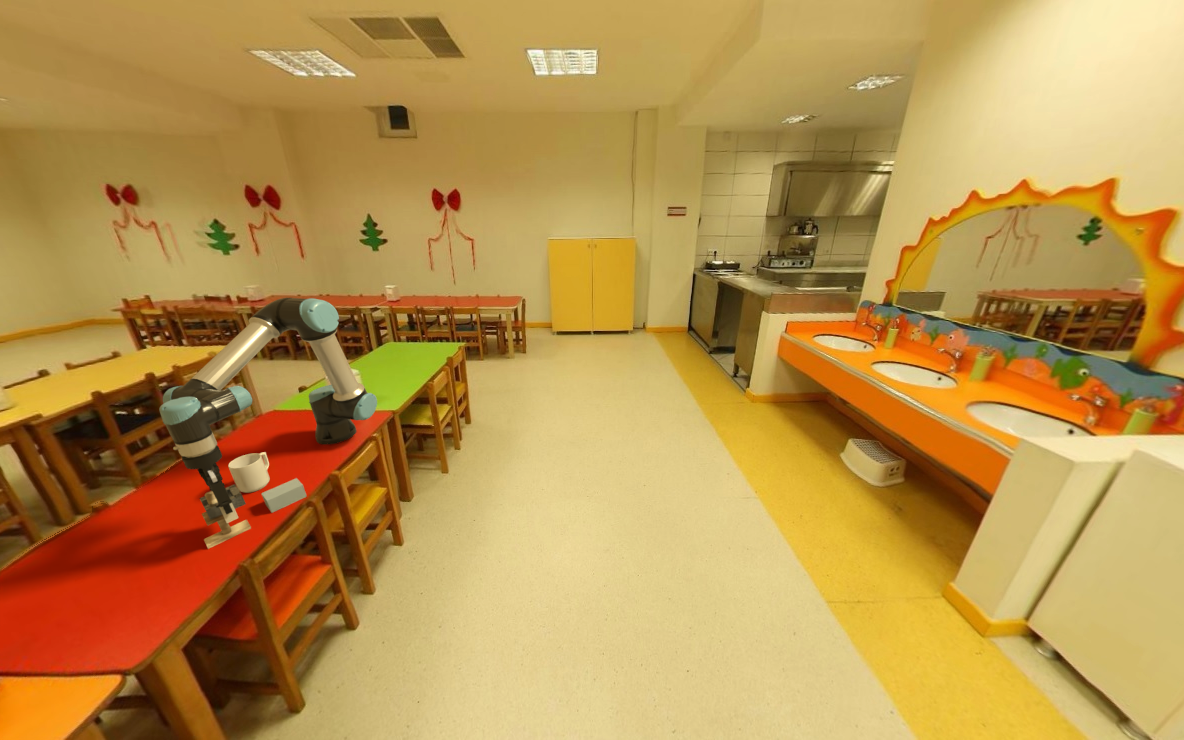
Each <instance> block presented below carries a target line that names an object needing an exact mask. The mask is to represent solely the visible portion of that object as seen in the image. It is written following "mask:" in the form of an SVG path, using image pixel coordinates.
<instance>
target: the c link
mask: <svg viewBox="0 0 1184 740" xmlns="http://www.w3.org/2000/svg"><path fill="white" fill-rule="evenodd" d="M225 489H226V491H227V493H228V495H229V497H230V499H231V500H232V504H233V506H234V508H235V510H236V509H238V508H240V507H241V508H242V507H243V506H245V505H247V503H246V502H245V499H244V497H243V494H242V492H241V491H239V490H238V488H237V486H236V483H234V484H231V485H228V486H226V487H225ZM199 500H200V502H201V504H202V506H203V508H204V510H205V512H207V514H208V516H209V518H210V520H211V519H213V518H216V517H218V516H220V515H222V512H221V510H220V508H219V507H218V508H216V506H217V505H218V502H217V503H215V504H210V505H209V504H208V501H207V499H206V497H205V495H204V496H202V497H200V498H199Z"/></svg>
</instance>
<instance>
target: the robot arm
mask: <svg viewBox="0 0 1184 740" xmlns="http://www.w3.org/2000/svg"><path fill="white" fill-rule="evenodd" d="M339 320H340V317H339V312H338V311H337V309H336V308H335V306H334V305H332V304H331V303H330V302H329V301H326V300H323V299H317V298H312V297H311V298H304V297H303V298H299V297H298V298H297V297H282V298H277V299H276V300H273V301H272V302H269V303H268V304H266V305H264V306H263V307H262V308H260V309H259V310H258V311H256V312H255V313H254V314H253V315H252V316H251V317H250V318H248V324H247V325H246V326H245V328H244V329H242V330H241V331H240V332H239V333H238V334H237V335H236V336H235V337H233V339H232V340H230V341H229V343H227V345H225V346H224V347H223V348H222V349H221V350H220V351H219V352H217V354H216V355H215V356H214V357H212V359H210V360H209V361H208V362H207V363H206V364H205V365H204V366H203V367H202V368H201V369H200V370H198V372H197V373H195V375H193V377H192V378H190V379H189V380H188V381H187V382H185V383H184V384H183V385H179V386H178V385H177V386H173V387H170V388H168V389H167V390H166V391H165V392H164V393H163V395H162V403H163V404H161V405H160V406H159V413H160V417H161V420H162V423H163V424H164V426H165V428H166V429H167V431H168V433H169V435H170V437H171V438H172V441H173V443H174V444H175V446H173V448H172V449H173V450H174V451H178V453H179V455H180V456H181V461H182V462H183V463H184V464H183V465H184V466H185V468H186V469H188V470H197V473H199V475H200V477H201V478H202V479H203V482H204V484H206V486H207V487H208V488H209V491H213V493H214V495H215V497H216V499H217V502H218V505H217V506H216V508H218V507H219V508H220V510H221V512H222V514H223V516H224V518H225V520H226V523H229V524H230V523H231V522H233V521H235V520H237V519H239V518H240V517H239V516H238V515H239V514H238V513H237V511H236V509H235V508H234V506H233V504H232V500H231V499H230V497H229V495H228V493H227V491H226V489H225V488H226V487H225V486H226V485H225V483H224V481H223V476H222V474H221V473H220V471H221V470H220V467H219V465H218V464H217V463H218V462H219V461H220V460H221V459H222V457H223V454H222V452H221V449H220V447H219V445H218V442H217V440H216V437H215V435H214V433H213V431H212V429H211V425H214V424H216V423H217V422H221V421H222V420H224V419H226V418H228V417H231V416H233V415H235V414H238V413H241V412H242V411H243V410H245V409H248V408H249V407H251V405H252V404H253V398H252V395H251V393H250V392H249V391H248V390H247V388H245V387H243V386H241V385H234V386H230V387H227V388H225V387H226V386H227V385H228V384H229V383H230V381H232V380H233V378H234V377H235V376H237V375H238V373H240V371H241V370H242V369H244V367H245V366H247V364H248V363H249V362H250V361H251V360H252V359H254V357H255V356H256V355H257V354H258V353H259V352H260V351H261V350H262V349H263V348H264V347H265V346H266V345H267V344H268V343H269V342H270V341H271V340H272V339H274V338H275V339H277V338H279V337H280V336H281V335H282V334H283V333H284V332H287V331H296V332H297V333H298V335H299V338H300V339H301V340H302V341H303V342H306V343H309V345H310V347H311V349H312V351H313V353H314V355H315V357H316V358H317V361H318V362H319V364H320V366H321V368H322V369H323V371H324V374H325V376H326V378H327V379H328V382H329V383H330V384H328V385H324V386H321V387H317V388H315V389H314V390H312V391H310V393H309V394H308V400H309V402H308V403H309V405H310V409H311V411H312V415H313V417H314V420H315V423H316V425H315V426H316V428H315V436H314V437H315V441H316V442H317V443H318V444H319V445H322V446H323V445H334V444H339V442H340V443H342V441H343V442H345V441H347V440H349V439H351V438H352V437H354V436H355V435H354V434H356V433H357V428H356V425H355V424H354V422H353V421H352V420H354V421H366V420H368V419H370V418H371V417H372V416H373V415H374V413H375V412H376V410H377V406H378V399H377V396H376V395H375V394H373V393H372V392H367V390H366V388H365V385H364V384H362V383H359V382H358V380H357V378H356V376H355V374H354V372H353V370H352V368H351V365H350V364H349V361H348V359H347V357H346V355H345V353H344V351H343V349H342V347H341V344H340V342H339V341H338V338H337V336H336V334H337V332H338V326H339ZM223 388H225V389H223ZM353 435H354V436H353ZM350 437H351V438H350ZM344 440H345V441H344Z"/></svg>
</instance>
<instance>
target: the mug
mask: <svg viewBox="0 0 1184 740" xmlns="http://www.w3.org/2000/svg"><path fill="white" fill-rule="evenodd" d="M269 466H270V462H269V458H268V455H267V452H266V451H264V452H260V453H257V452H256V453H248V454H245V455H244V454H243V455H241V456H238V457H236V458H234V459H233V460H231V461H230V462H229V463H228V469H229V472H230V474H231V476H232V479H233V481H234V484H235V485H236V487H237V488H238V490H239V491H240V493H245V494H247V493H253V492H254V493H255V492H257V491H260V490H262V489H264V488H265V487H266V486H267V485H268V484H269V482H270V481H271V480H270V479H271V478H270V475H269V472H268V469H269Z"/></svg>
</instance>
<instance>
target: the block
mask: <svg viewBox="0 0 1184 740" xmlns="http://www.w3.org/2000/svg"><path fill="white" fill-rule="evenodd" d="M261 497H262V499H263V502H264V504H265V506H266V507H267V508H268V510H269V512H270V513H274V512H277V511H279V510H281V509H283V508H286V507H288V506H290V505H292V504H294V503H296V502H298V501H300V500H302V499H304V498H306V497H307V493H306V491H305V487H304V484H303V483H302V482H301V481H300V480H299V479H298V478H297V477H295V478H294V479H291V480H289V481H287V482H285V483H281V484H280V485H277V486H275V487H273V488H270V489H268V490H266V491H264V492H262V493H261ZM307 498H308V497H307Z"/></svg>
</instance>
